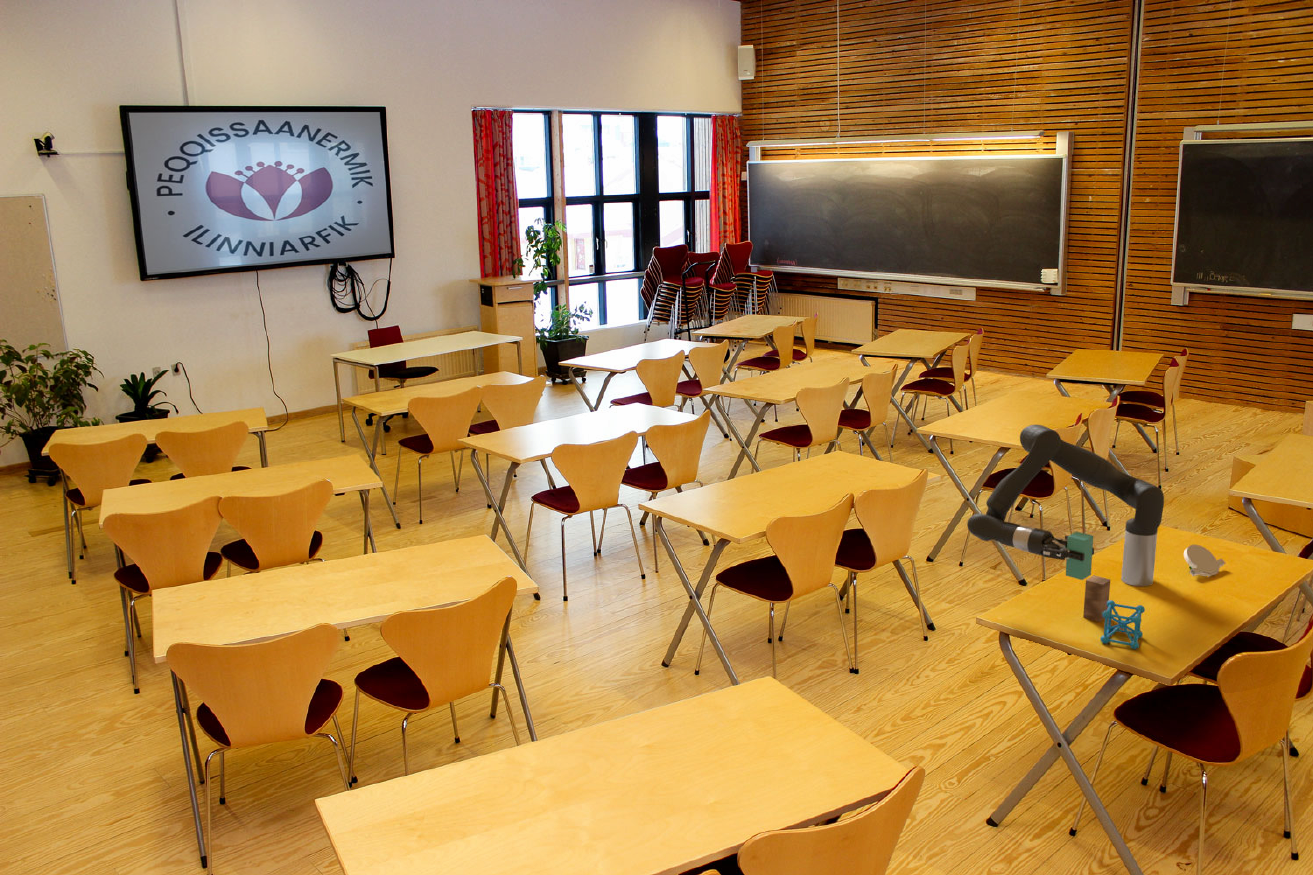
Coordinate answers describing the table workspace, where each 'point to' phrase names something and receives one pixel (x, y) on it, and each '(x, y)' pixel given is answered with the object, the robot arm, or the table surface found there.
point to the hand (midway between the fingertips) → (1088, 554)
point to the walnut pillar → (1096, 597)
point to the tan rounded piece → (1202, 561)
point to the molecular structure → (1122, 624)
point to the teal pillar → (1083, 545)
